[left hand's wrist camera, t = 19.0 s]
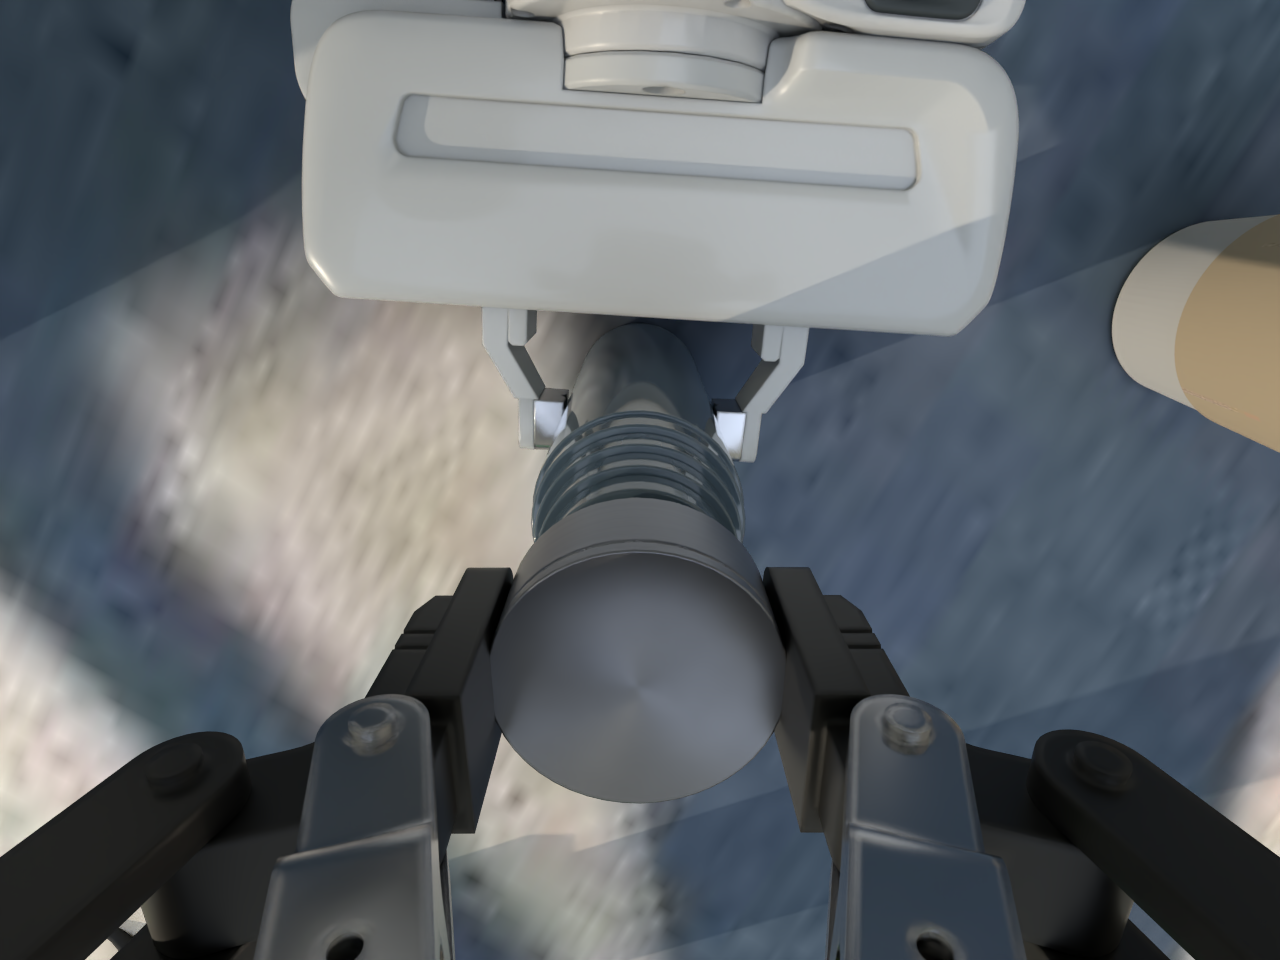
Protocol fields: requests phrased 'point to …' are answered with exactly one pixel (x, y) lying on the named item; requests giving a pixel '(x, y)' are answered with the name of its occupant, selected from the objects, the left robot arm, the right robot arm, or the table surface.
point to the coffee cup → (1209, 323)
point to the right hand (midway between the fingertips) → (638, 451)
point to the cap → (637, 653)
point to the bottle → (638, 435)
